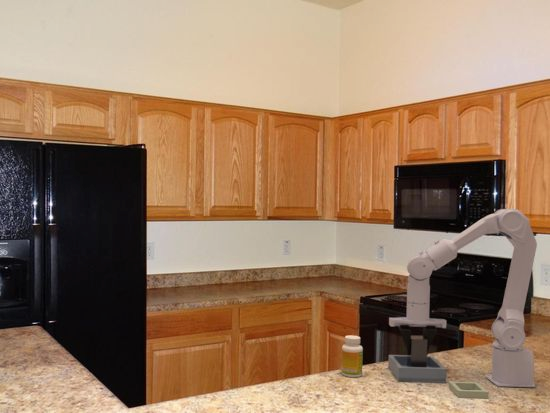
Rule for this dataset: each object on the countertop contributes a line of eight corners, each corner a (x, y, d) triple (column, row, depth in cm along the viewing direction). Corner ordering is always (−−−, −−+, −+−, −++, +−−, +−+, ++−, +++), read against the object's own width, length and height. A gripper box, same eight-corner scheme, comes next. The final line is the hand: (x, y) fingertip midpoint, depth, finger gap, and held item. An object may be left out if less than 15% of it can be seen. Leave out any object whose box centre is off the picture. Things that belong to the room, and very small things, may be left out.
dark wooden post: (422, 366, 145) (423, 335, 145) (426, 370, 141) (427, 339, 141) (407, 365, 145) (408, 335, 145) (410, 370, 141) (411, 339, 141)
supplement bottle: (361, 378, 140) (362, 340, 140) (340, 376, 141) (341, 338, 141) (362, 372, 145) (363, 335, 145) (342, 370, 146) (343, 333, 146)
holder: (477, 388, 134) (477, 382, 134) (488, 398, 127) (488, 391, 127) (448, 387, 134) (448, 381, 134) (458, 397, 127) (458, 391, 127)
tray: (432, 368, 150) (432, 356, 150) (446, 383, 138) (446, 369, 138) (388, 367, 150) (388, 354, 150) (398, 381, 138) (398, 367, 138)
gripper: (441, 300, 148) (439, 351, 148) (387, 299, 148) (385, 349, 148) (449, 305, 141) (448, 358, 141) (393, 303, 141) (391, 356, 141)
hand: (416, 354), depth 144 cm, fingers closed on dark wooden post, 4 cm apart
